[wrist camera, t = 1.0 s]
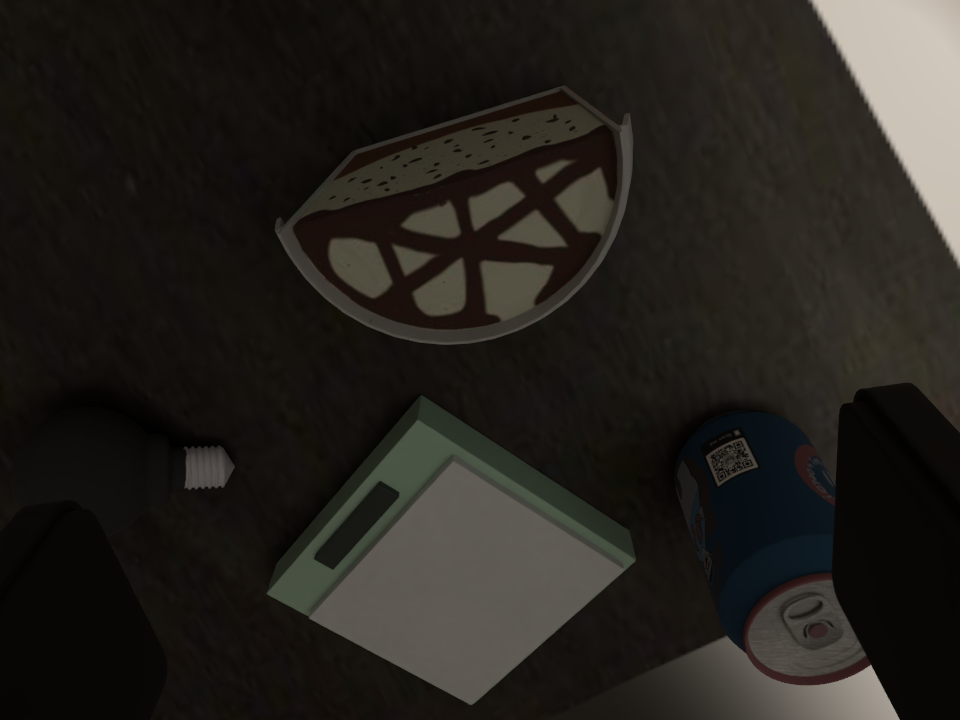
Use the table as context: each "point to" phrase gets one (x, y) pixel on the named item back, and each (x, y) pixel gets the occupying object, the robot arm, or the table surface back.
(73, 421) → the light bulb
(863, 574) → the robot arm
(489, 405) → the table surface
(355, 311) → the food container
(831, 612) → the soda can
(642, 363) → the table surface
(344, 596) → the scale
